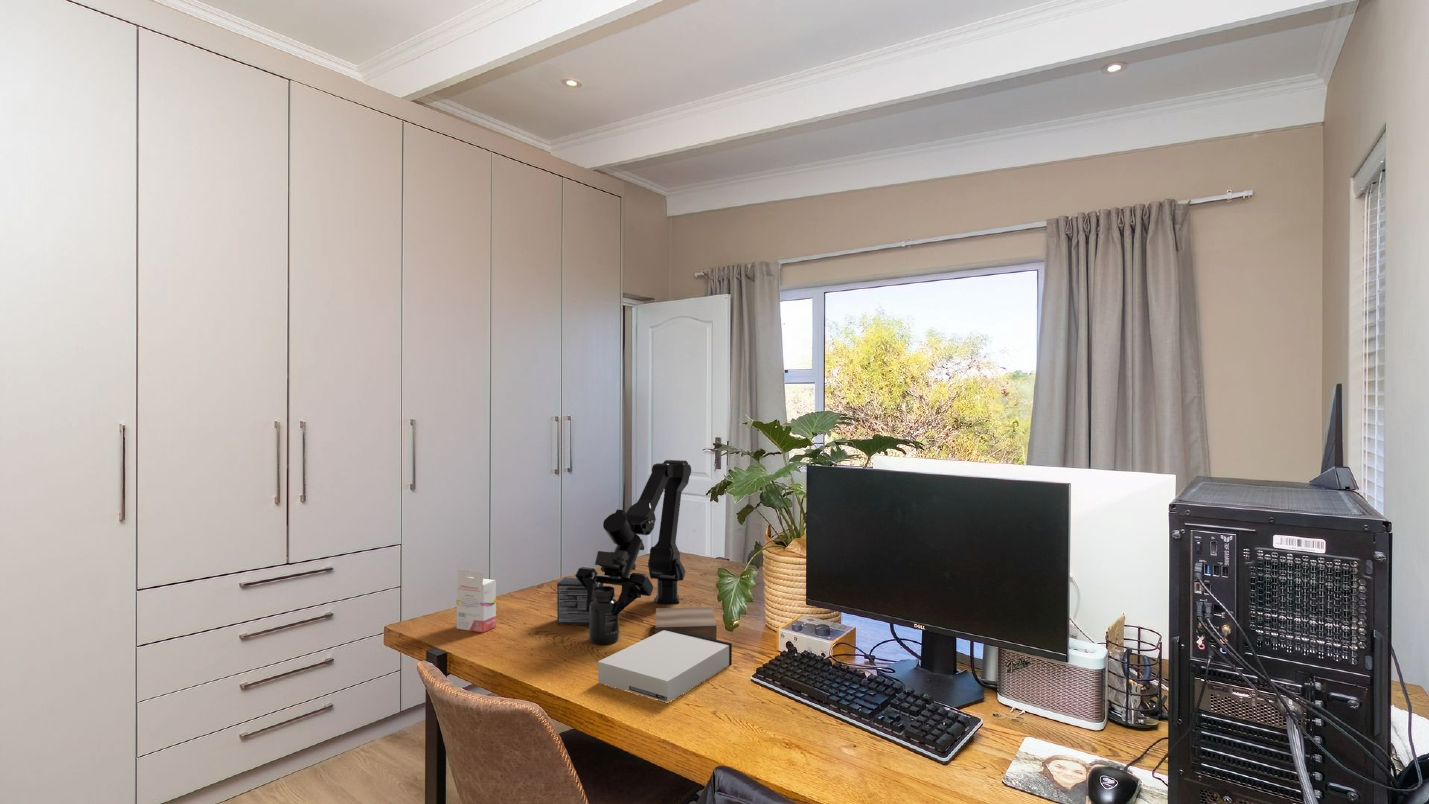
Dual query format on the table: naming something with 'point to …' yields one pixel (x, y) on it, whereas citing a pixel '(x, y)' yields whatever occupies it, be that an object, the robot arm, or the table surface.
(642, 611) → the table surface
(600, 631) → the supplement bottle
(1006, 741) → the table surface
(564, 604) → the small box
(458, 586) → the ink cartridge box
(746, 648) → the table surface
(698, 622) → the walnut block
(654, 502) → the robot arm
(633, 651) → the disc drive
